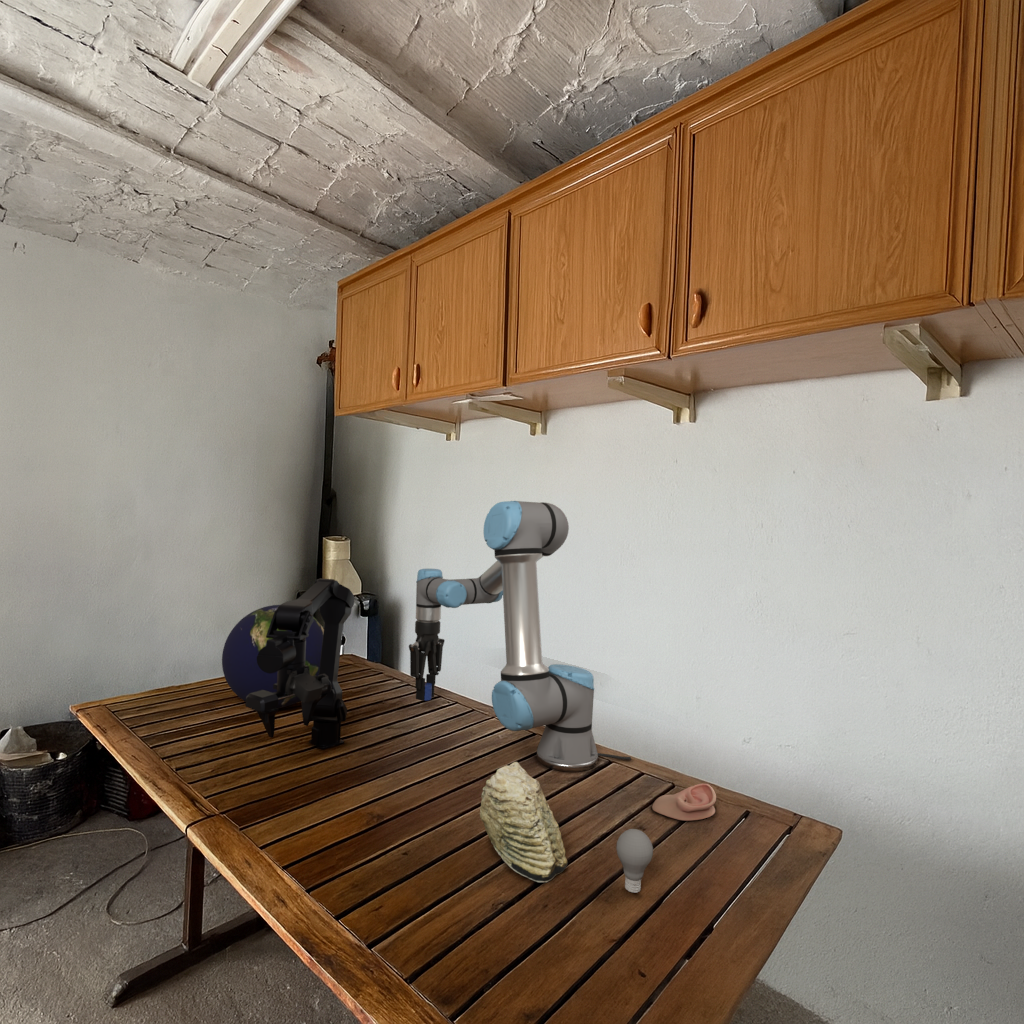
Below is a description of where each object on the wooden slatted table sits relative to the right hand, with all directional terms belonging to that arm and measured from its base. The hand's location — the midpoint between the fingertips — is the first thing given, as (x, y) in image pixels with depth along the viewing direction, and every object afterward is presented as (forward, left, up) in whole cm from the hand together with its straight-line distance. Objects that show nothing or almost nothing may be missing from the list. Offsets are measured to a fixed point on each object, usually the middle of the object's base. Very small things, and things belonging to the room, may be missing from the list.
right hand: (424, 697), depth 191 cm
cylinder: (0, 0, 0) cm, 0 cm away
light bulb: (-20, +95, -4) cm, 97 cm away
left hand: (+37, +41, +7) cm, 56 cm away
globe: (+43, -10, -4) cm, 44 cm away
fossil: (-5, +81, -4) cm, 81 cm away
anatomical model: (-44, +71, -4) cm, 84 cm away
